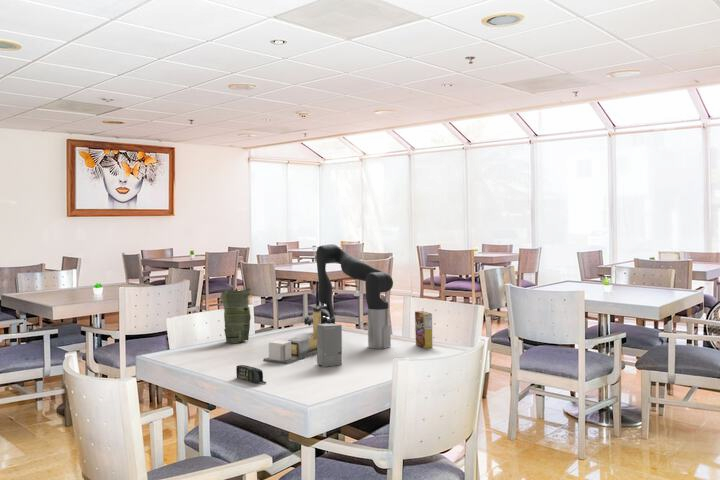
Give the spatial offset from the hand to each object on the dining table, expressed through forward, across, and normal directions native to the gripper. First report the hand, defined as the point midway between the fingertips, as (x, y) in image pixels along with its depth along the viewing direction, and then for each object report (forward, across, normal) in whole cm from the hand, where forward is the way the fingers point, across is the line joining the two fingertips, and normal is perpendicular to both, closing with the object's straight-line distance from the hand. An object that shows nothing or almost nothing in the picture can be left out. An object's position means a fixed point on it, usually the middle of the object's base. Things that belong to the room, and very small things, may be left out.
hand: (318, 323), depth 276 cm
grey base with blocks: (+22, -7, +10) cm, 25 cm away
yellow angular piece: (+17, -4, +9) cm, 20 cm away
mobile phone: (+64, -19, +10) cm, 67 cm away
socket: (+33, -13, +9) cm, 37 cm away
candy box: (+6, +47, +10) cm, 49 cm away
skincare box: (+40, +7, +10) cm, 42 cm away
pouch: (-8, -39, +10) cm, 41 cm away
